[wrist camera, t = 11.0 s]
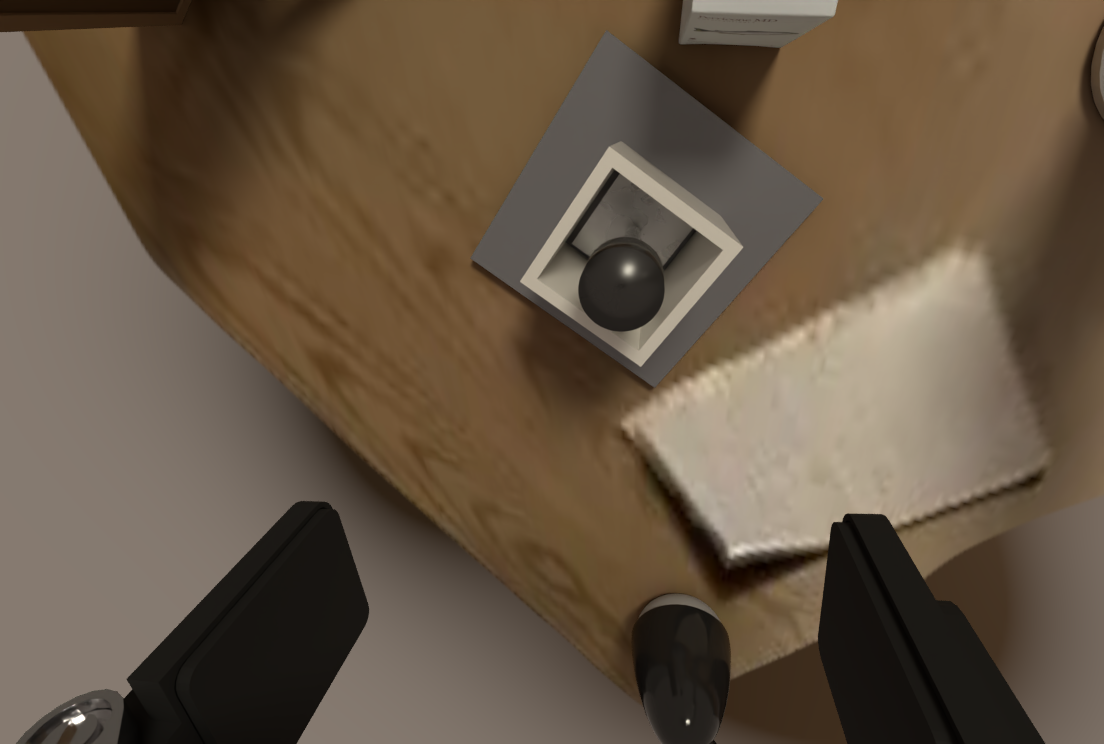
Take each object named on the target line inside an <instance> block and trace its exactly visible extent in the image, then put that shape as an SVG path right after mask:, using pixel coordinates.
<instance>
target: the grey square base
mask: <svg viewBox="0 0 1104 744" xmlns="http://www.w3.org/2000/svg"><path fill="white" fill-rule="evenodd" d="M619 174H622V175H623V176H624V177H626V178H627V179H628V180H630V181H631V182H632V183H634V184H635V185H636V186H638V187H639V188H640V189H642V190H643V191H644V192H646V193H647V194H648V195H650V196H651V197H652V198H654V199H655V200H656V201H658V202H659V203H660V204H662V205H663V206H665V207H666V208H667V209H669V210H670V211H671V212H673V213H674V214H675V215H677V216H678V217H679V218H681V219H682V220H683V221H685V222H686V223H687V224H689V225H690V226H691V227H693V229H692V230H691V231H690V233H689V234H688V235H687V237H686V238H685V239H684V240H683V242H682V243H681V244H680V245H679V247H678V248H677V249H676V250H675V252H674V253H673V254H672V255H671V257H670V258H669V259H668V260H667V262H666V263H665V264H664V265H663V270H664V286H665V293H664V299H663V303H662V305H661V308H660V309H659V311H658V313H657V314H656V315H655V317H654V318H653V319H652V320H651V321H649V322H648V323H647V324H645V325H644V326H642V327H640V328H638V329H635V330H631V331H624V332H618V331H611V330H608V329H605V328H603V327H600V326H599V325H597V324H596V323H594V322H593V321H592V320H591V319H590V318H589V317H588V316H587V315H586V313H585V312H584V310H583V308H582V306H581V303H580V300H579V294H578V285H579V280H580V277H581V274H582V272H583V270H584V268H585V266H586V264H587V262H588V260H589V258H590V256H588V255H587V254H585V253H584V252H583V251H581V250H580V249H579V248H577V247H576V246H574V245H573V244H572V242H573V241H574V240H575V238H576V237H577V235H578V234H579V232H580V231H581V229H582V228H583V226H584V225H585V224H586V222H587V221H588V219H589V218H590V216H591V215H592V213H593V212H594V210H595V209H596V208H597V206H598V205H599V203H600V202H601V200H602V199H603V197H604V196H605V194H606V193H607V192H608V190H609V189H610V187H611V186H612V184H613V183H614V181H615V180H616V178H617V177H618V175H619ZM822 200H823V198H822V197H821V196H819V195H818V194H817V193H815V192H814V191H813V190H812V189H810V188H809V187H808V186H806V185H805V184H804V183H803V182H801V181H800V180H799V179H797V178H796V177H795V176H794V175H792V174H791V173H790V172H788V171H787V170H786V169H785V168H783V167H782V166H781V165H779V164H778V163H777V162H776V161H774V160H773V159H772V158H770V157H769V156H768V155H767V154H765V153H764V152H763V151H761V150H760V149H759V148H758V147H756V146H755V145H754V144H752V143H751V142H750V141H749V140H747V139H746V138H745V137H743V136H742V135H741V134H740V133H738V132H737V131H736V130H734V129H733V128H732V127H731V126H729V125H728V124H727V123H725V122H724V121H723V120H722V119H720V118H719V117H718V116H716V115H715V114H714V113H712V112H711V111H710V110H709V109H707V108H706V107H705V106H703V105H702V104H701V103H700V102H698V101H697V100H696V99H694V98H693V97H692V96H691V95H689V94H688V93H687V92H685V91H684V90H683V89H682V88H680V87H679V86H678V85H676V84H675V83H674V82H673V81H671V80H670V79H669V78H667V77H666V76H665V75H664V74H662V73H661V72H660V71H658V70H657V69H656V68H655V67H653V66H652V65H651V64H649V63H648V62H647V61H646V60H644V59H643V58H642V57H640V56H639V55H638V54H637V53H635V52H634V51H633V50H631V49H630V48H629V47H628V46H626V45H625V44H624V43H622V42H621V41H620V40H619V39H617V38H616V37H615V36H613V35H612V34H611V33H609V32H608V31H607V30H606V32H605V33H604V35H603V37H602V38H601V40H600V42H599V43H598V45H597V47H596V48H595V50H594V52H593V53H592V55H591V57H590V59H589V60H588V62H587V64H586V65H585V67H584V69H583V70H582V72H581V74H580V75H579V77H578V79H577V80H576V82H575V84H574V85H573V87H572V89H571V90H570V92H569V94H568V95H567V97H566V99H565V100H564V102H563V104H562V105H561V107H560V109H559V111H558V112H557V114H556V116H555V117H554V119H553V121H552V122H551V124H550V126H549V127H548V129H547V131H546V132H545V134H544V136H543V137H542V139H541V141H540V142H539V144H538V146H537V147H536V149H535V151H534V152H533V154H532V156H531V157H530V159H529V161H528V163H527V164H526V166H525V168H524V169H523V171H522V173H521V174H520V176H519V178H518V179H517V181H516V183H515V184H514V186H513V188H512V189H511V191H510V193H509V194H508V196H507V198H506V199H505V201H504V203H503V204H502V206H501V208H500V209H499V211H498V213H497V215H496V216H495V218H494V220H493V221H492V223H491V225H490V226H489V228H488V230H487V231H486V233H485V235H484V236H483V238H482V240H481V241H480V243H479V245H478V246H477V248H476V250H475V251H474V253H473V255H472V256H471V259H472V260H473V261H475V262H476V263H478V264H479V265H481V266H482V267H483V268H485V269H486V270H488V271H489V272H491V273H492V274H493V275H495V276H496V277H498V278H499V279H500V280H502V281H503V282H505V283H506V284H508V285H509V286H510V287H512V288H513V289H515V290H516V291H518V292H519V293H520V294H522V295H523V296H525V297H526V298H528V299H529V300H530V301H532V302H533V303H535V304H536V305H538V306H539V307H540V308H542V309H543V310H545V311H546V312H547V313H549V314H550V315H552V316H553V317H555V318H556V319H557V320H559V321H560V322H562V323H563V324H565V325H566V326H567V327H569V328H570V329H572V330H573V331H575V332H576V333H577V334H579V335H580V336H582V337H583V338H585V339H586V340H587V341H589V342H590V343H592V344H593V345H594V346H596V347H597V348H599V349H600V350H602V351H603V352H604V353H606V354H607V355H609V356H610V357H612V358H613V359H614V360H616V361H617V362H619V363H620V364H622V365H623V366H624V367H626V368H627V369H629V370H630V371H632V372H633V373H634V374H636V375H637V376H639V377H640V378H641V379H643V380H644V381H646V382H647V383H649V384H650V385H651V386H653V387H654V388H655V387H656V386H657V385H658V383H659V382H660V381H661V380H662V379H663V378H664V377H665V376H666V374H667V373H668V372H669V371H670V370H671V369H672V368H673V367H674V365H675V364H676V363H677V362H678V361H679V360H680V359H681V358H682V357H683V355H684V354H685V353H686V352H687V351H688V350H689V349H690V348H691V346H692V345H693V344H694V343H695V342H696V341H697V340H698V339H699V338H700V336H701V335H702V334H703V333H704V332H705V331H706V330H707V329H708V327H709V326H710V325H711V324H712V323H713V322H714V321H715V320H716V319H717V317H718V316H719V315H720V314H721V313H722V312H723V311H724V310H725V308H726V307H727V306H728V305H729V304H730V303H731V302H732V301H733V299H734V298H735V297H736V296H737V295H738V294H739V293H740V292H741V291H742V289H743V288H744V287H745V286H746V285H747V284H748V283H749V282H750V280H751V279H752V278H753V277H754V276H755V275H756V274H757V273H758V272H759V270H760V269H761V268H762V267H763V266H764V265H765V264H766V263H767V261H768V260H769V259H770V258H771V257H772V256H773V255H774V254H775V252H776V251H777V250H778V249H779V248H780V247H781V246H782V245H783V244H784V242H785V241H786V240H787V239H788V238H789V237H790V236H791V235H792V233H793V232H794V231H795V230H796V229H797V228H798V227H799V226H800V225H801V223H802V222H803V221H804V220H805V219H806V218H807V217H808V216H809V214H810V213H811V212H812V211H813V210H814V209H815V208H816V207H817V205H818V204H819V203H820V202H821V201H822Z"/></svg>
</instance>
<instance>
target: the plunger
mask: <svg viewBox="0 0 1104 744" xmlns="http://www.w3.org/2000/svg"><path fill="white" fill-rule="evenodd" d="M692 229H693V227H691V226H690V225H689V224H687V223H686V222H685V221H683V220H682V219H681V218H679V217H678V216H677V215H675V214H674V213H673V212H671V211H670V210H669V209H667V208H666V207H665V206H663V205H662V204H660V203H659V202H658V201H656V200H655V199H654V198H652V197H651V196H650V195H648V194H647V193H646V192H644V191H643V190H642V189H640V188H639V187H638V186H636V185H635V184H634V183H632V182H631V181H630V180H628V179H627V178H626V177H624V176H623V175H622V174H619V175H618V177H617V178H616V180H615V181H614V183H613V184H612V186H611V187H610V189H609V190H608V192H607V193H606V194H605V196H604V197H603V199H602V200H601V202H600V203H599V205H598V206H597V208H596V209H595V210H594V212H593V213H592V215H591V216H590V218H589V219H588V221H587V222H586V224H585V225H584V226H583V228H582V229H581V231H580V232H579V234H578V235H577V237H576V238H575V240H574V241H573V242H572V244H573V245H574V246H576V247H577V248H579V249H580V250H581V251H583V252H584V253H585V254H587V255H588V256H590V258H589V260H588V262H587V264H586V266H585V268H584V270H583V272H582V274H581V277H580V280H579V285H578V294H579V300H580V303H581V306H582V308H583V310H584V312H585V313H586V315H587V316H588V317H589V318H590V319H591V320H592V321H593V322H594V323H596V324H597V325H599V326H600V327H603V328H605V329H608V330H611V331H618V332H624V331H631V330H635V329H638V328H640V327H642V326H644V325H645V324H647V323H648V322H649V321H651V320H652V319H653V318H654V317H655V315H656V314H657V313H658V311H659V309H660V308H661V305H662V303H663V299H664V293H665V286H664V270H663V265H664V264H665V263H666V262H667V260H668V259H669V258H670V257H671V255H672V254H673V253H674V252H675V250H676V249H677V248H678V247H679V245H680V244H681V243H682V242H683V240H684V239H685V238H686V237H687V235H688V234H689V233H690V231H691V230H692Z"/></svg>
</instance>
